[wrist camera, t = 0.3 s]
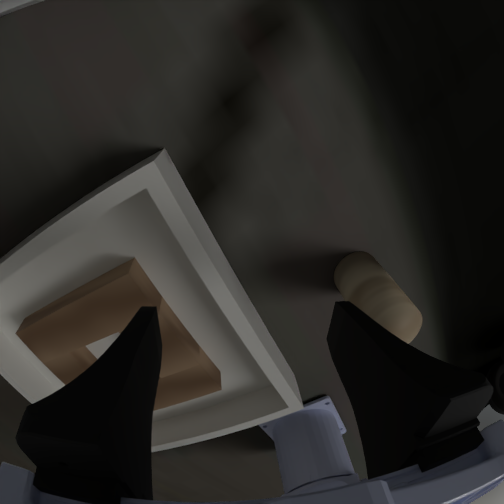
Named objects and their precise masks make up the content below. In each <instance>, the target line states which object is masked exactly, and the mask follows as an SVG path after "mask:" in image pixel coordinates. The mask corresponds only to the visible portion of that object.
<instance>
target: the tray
mask: <svg viewBox="0 0 504 504" xmlns="http://www.w3.org/2000/svg"><path fill="white" fill-rule="evenodd" d="M133 258H136V260H137V261H138V263H139V264H140V266H141V267H142V269H143V270H144V272H145V273H146V274H147V276H148V277H149V279H150V280H151V282H152V283H153V284H154V286H155V287H156V289H157V290H158V291H159V293H160V294H161V296H162V297H163V298H164V300H165V301H166V302H167V304H168V305H169V306H170V308H171V309H172V311H173V312H174V313H175V315H176V316H177V317H178V319H179V320H180V321H181V322H182V324H183V325H184V326H185V328H186V329H187V330H188V332H189V333H190V334H191V335H192V337H193V338H194V339H195V341H196V342H197V343H198V344H199V346H200V347H201V348H202V349H203V351H204V352H205V353H206V354H207V356H208V357H209V358H210V359H211V361H212V362H213V363H214V364H215V365H216V367H217V368H218V369H219V370H220V372H221V386H222V390H220V391H217V392H214V393H211V394H208V395H205V396H202V397H199V398H195V399H192V400H189V401H186V402H182V403H179V404H176V405H172V406H169V407H166V408H162V409H158V410H155V411H153V418H152V440H151V452H156V451H161V450H166V449H170V448H175V447H180V446H184V445H188V444H192V443H196V442H200V441H204V440H208V439H212V438H216V437H219V436H223V435H227V434H230V433H233V432H237V431H240V430H243V429H247V428H250V427H253V426H256V425H259V424H262V423H265V422H268V421H271V420H274V419H277V418H280V417H283V416H285V415H288V414H291V413H294V412H296V411H299V410H301V409H304V406H303V403H302V400H301V396H300V393H299V389H298V386H297V382H296V379H295V376H294V373H293V372H292V370H291V368H290V367H289V365H288V363H287V362H286V360H285V358H284V357H283V355H282V353H281V352H280V350H279V348H278V347H277V345H276V343H275V342H274V340H273V338H272V337H271V335H270V333H269V331H268V330H267V328H266V326H265V325H264V323H263V321H262V320H261V318H260V316H259V314H258V313H257V311H256V309H255V308H254V306H253V304H252V302H251V301H250V299H249V297H248V296H247V294H246V292H245V290H244V289H243V287H242V285H241V283H240V282H239V280H238V278H237V276H236V275H235V273H234V271H233V269H232V268H231V266H230V264H229V262H228V261H227V259H226V257H225V255H224V254H223V252H222V250H221V248H220V247H219V245H218V243H217V241H216V240H215V238H214V236H213V234H212V232H211V231H210V229H209V227H208V225H207V224H206V222H205V220H204V218H203V216H202V215H201V213H200V211H199V209H198V207H197V206H196V204H195V202H194V200H193V198H192V197H191V195H190V193H189V191H188V189H187V188H186V186H185V184H184V182H183V180H182V178H181V177H180V175H179V173H178V171H177V169H176V167H175V166H174V164H173V162H172V160H171V158H170V156H169V155H168V153H167V151H166V149H165V148H164V149H162V150H160V151H158V152H157V153H155V154H153V155H151V156H150V157H148V158H146V159H144V160H142V161H141V162H139V163H137V164H136V165H134V166H132V167H130V168H129V169H127V170H125V171H124V172H122V173H120V174H119V175H117V176H116V177H114V178H112V179H111V180H109V181H107V182H106V183H104V184H103V185H101V186H99V187H98V188H96V189H95V190H93V191H92V192H90V193H89V194H87V195H86V196H84V197H83V198H81V199H80V200H78V201H77V202H75V203H74V204H72V205H71V206H69V207H68V208H66V209H65V210H64V211H62V212H61V213H59V214H58V215H56V216H55V217H54V218H52V219H51V220H49V221H48V222H47V223H45V224H44V225H43V226H41V227H40V228H39V229H37V230H36V231H35V232H33V233H32V234H31V235H29V236H28V237H27V238H25V239H24V240H23V241H22V242H20V243H19V244H18V245H16V246H15V247H14V248H13V249H11V250H10V251H9V252H8V253H7V254H5V255H4V256H3V257H2V258H0V374H1V375H2V376H3V377H4V378H5V379H6V380H7V381H8V382H9V383H10V384H11V385H12V386H13V387H14V388H15V389H16V390H17V391H18V392H19V393H20V394H22V395H23V396H24V397H25V398H26V399H27V400H28V401H29V402H30V403H32V404H33V403H35V402H37V401H39V400H41V399H43V398H45V397H47V396H49V395H51V394H52V393H54V392H56V391H57V390H59V389H61V388H62V387H64V386H65V384H64V383H63V382H62V381H61V380H59V379H58V378H57V377H56V376H55V375H54V374H53V373H52V372H51V371H50V370H49V369H48V368H47V367H46V366H45V365H44V364H43V363H42V362H41V361H40V360H39V359H38V358H37V357H36V356H35V355H34V353H33V352H32V351H31V350H30V349H29V348H28V347H27V346H26V345H25V344H24V343H23V342H22V340H21V339H20V338H19V337H18V336H17V335H16V334H15V333H16V332H17V330H18V328H19V327H20V325H21V323H22V322H23V320H24V319H25V318H26V317H27V316H29V315H31V314H33V313H34V312H36V311H38V310H39V309H41V308H43V307H45V306H46V305H48V304H50V303H52V302H53V301H55V300H57V299H59V298H61V297H62V296H64V295H66V294H68V293H70V292H71V291H73V290H75V289H77V288H79V287H80V286H82V285H84V284H86V283H88V282H89V281H91V280H93V279H95V278H97V277H99V276H101V275H102V274H104V273H106V272H108V271H110V270H112V269H114V268H116V267H117V266H119V265H121V264H123V263H125V262H127V261H129V260H131V259H133ZM119 335H120V333H119V332H117V333H115V334H112V335H110V336H108V337H105V338H103V339H100V340H98V341H96V342H93V343H91V344H89V345H86V347H87V349H88V350H89V351H90V352H91V353H92V354H93V355H94V356H95V357H96V358H97V359H98V358H99V357H100V356H101V355H102V354H103V353H104V352H105V351H106V350H107V349H108V348H109V347H110V345H111V344H112V343H113V342H114V341H115V340H116V339H117V337H118V336H119Z"/></svg>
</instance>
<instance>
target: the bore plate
mask: <svg viewBox="0 0 504 504" xmlns="http://www.w3.org/2000/svg"><path fill="white" fill-rule="evenodd" d="M142 306H157V312H158V319H159V326H160V333H161V339H162V361H161V370H160V376H159V381H158V387H157V393H156V398H155V404H154V410H153V411H155V410H158V409H162V408H166V407H169V406H172V405H176V404H179V403H182V402H186V401H189V400H192V399H195V398H199V397H202V396H205V395H208V394H211V393H214V392H217V391H220V390H222V386H221V372H220V370H219V369H218V368H217V367H216V365H215V364H214V363H213V362H212V361H211V359H210V358H209V357H208V356H207V354H206V353H205V352H204V351H203V349H202V348H201V347H200V346H199V344H198V343H197V342H196V341H195V339H194V338H193V337H192V335H191V334H190V333H189V332H188V330H187V329H186V328H185V326H184V325H183V324H182V322H181V321H180V320H179V319H178V317H177V316H176V315H175V313H174V312H173V311H172V309H171V308H170V306H169V305H168V304H167V302H166V301H165V300H164V298H163V297H162V296H161V294H160V293H159V291H158V290H157V289H156V287H155V286H154V284H153V283H152V282H151V280H150V279H149V277H148V276H147V274H146V273H145V272H144V270H143V269H142V267H141V266H140V264H139V263H138V261H137V260H136V258H133V259H131V260H129V261H127V262H125V263H123V264H121V265H119V266H117V267H116V268H114V269H112V270H110V271H108V272H106V273H104V274H102V275H101V276H99V277H97V278H95V279H93V280H91V281H89V282H88V283H86V284H84V285H82V286H80V287H79V288H77V289H75V290H73V291H71V292H70V293H68V294H66V295H64V296H62V297H61V298H59V299H57V300H55V301H53V302H52V303H50V304H48V305H46V306H45V307H43V308H41V309H39V310H38V311H36V312H34V313H33V314H31V315H29V316H27V317H26V318H25V319H24V320H23V322H22V323H21V325H20V327H19V328H18V330H17V332H16V333H15V334H16V335H17V336H18V337H19V338H20V339H21V340H22V342H23V343H24V344H25V345H26V346H27V347H28V348H29V349H30V350H31V351H32V352H33V353H34V355H35V356H36V357H37V358H38V359H39V360H40V361H41V362H42V363H43V364H44V365H45V366H46V367H47V368H48V369H49V370H50V371H51V372H52V373H53V374H54V375H55V376H56V377H57V378H58V379H59V380H61V381H62V382H63V383H64V384H65V385H67V384H68V383H70V382H71V381H72V380H74V379H75V378H76V377H78V376H79V375H80V374H81V373H83V372H84V371H85V370H86V369H88V368H89V367H90V366H91V365H92V364H93V363H94V362H95V361H96V360H97V358H96V357H95V356H94V355H93V354H92V353H91V352H90V351H89V350H88V349H87V347H86V345H89V344H91V343H93V342H96V341H98V340H100V339H103V338H105V337H108V336H110V335H112V334H115V333H117V332H119V333H120V334H121V332H122V331H123V330H124V329H125V327H126V326H127V325H128V323H129V322H130V321H131V319H132V318H133V317H134V315H135V314H136V313H137V311H138V310H139V308H141V307H142Z"/></svg>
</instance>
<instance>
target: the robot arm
mask: <svg viewBox="0 0 504 504" xmlns="http://www.w3.org/2000/svg"><path fill="white" fill-rule="evenodd" d="M327 342H328V346H329V350H330V353H331V357H332V360H333V362H334V365H335V367H336V369H337V372H338V374H339V376H340V378H341V381H342V383H343V385H344V388H345V390H346V392H347V395H348V397H349V399H350V402H351V405H352V407H353V411H354V414H355V417H356V421H357V425H358V429H359V433H360V437H361V441H362V445H363V451H364V456H365V461H366V467H367V474H368V479H366V478H365V479H362V480H361V482H360V479H359V476H358V474H357V473H356V474H355V472H354V469H353V466H352V463H351V461H350V458H349V455H348V452H347V449H346V446H345V443H344V441H343V438H342V435H341V434H344V433H345V432H346V428H345V426H344V424H343V422H342V420H341V418H340V416H339V414H338V412H337V410H336V408H335V406H334V404H333V403H332V401H331V399H330V397H329V396H324V397H321V398H319V399H317V400H314V401H312V402H309V403H307V404H304V405H303V406H304V409H301V410H299V411H296V412H294V413H291V414H288V415H285V416H283V417H280V418H277V419H274V420H271V421H268V422H265V423H262V424H259V426H260V427H261V428H262V429H263V430H264V431H265V432H266V433H267V434H268V435H269V437H270V438H271V439H272V440H273V441H274V443H275V448H276V453H277V458H278V463H279V468H280V473H281V478H282V483H283V488H284V493H285V494H284V495H281V497H277V498H268V499H258V500H246V501H228V502H172V501H155V500H153V493H152V469H151V440H152V418H153V410H154V404H155V398H156V393H157V387H158V381H159V376H160V370H161V361H162V339H161V333H160V326H159V319H158V312H157V306H142V307H141V308H139V310H138V311H137V313H136V314H135V315H134V317H133V318H132V319H131V321H130V322H129V323H128V325H127V326H126V327H125V329H124V330H123V331H122V332H121V334H120V335H119V336H118V337H117V339H116V340H115V341H114V342H113V343H112V344H111V345H110V347H109V348H108V349H107V350H106V351H105V352H104V353H103V354H102V355H101V356H100V357H99V358H98V359H97V360H96V361H95V362H94V363H93V364H92V365H91V366H90V367H89V368H88V369H86V370H85V371H84V372H83V373H81V374H80V375H79V376H78V377H76V378H75V379H74V380H72V381H71V382H70V383H68V384H67V385H65V386H64V387H62V388H61V389H59V390H57V391H56V392H54V393H52V394H51V395H49V396H47V397H45V398H43V399H41V400H39V401H37V402H35V403H33V404H31V405H29V406H27V408H26V410H25V412H24V415H23V417H22V420H21V423H20V426H19V429H18V432H17V435H16V441H17V444H18V445H19V447H20V448H21V450H22V451H23V452H24V453H25V454H26V455H27V456H28V457H29V459H30V460H31V461H32V462H33V463H34V464H35V465H36V466H37V469H36V473H35V474H34V473H33V472H31V471H29V470H27V469H24V468H21V467H18V466H15V465H11V464H8V463H6V462H2V463H1V467H0V504H469V503H471V502H473V501H474V500H476V499H477V498H479V497H481V496H483V495H484V494H486V493H487V492H489V491H491V490H492V489H494V488H495V487H496V486H497V485H498V484H500V483H501V482H502V481H504V422H503V420H499V421H497V422H495V423H493V424H491V425H489V426H488V427H486V428H484V429H483V430H482V431H479V430H478V428H477V426H479V424H480V422H479V420H478V419H477V416H478V415H479V413H480V412H481V411H482V410H483V408H484V407H485V406H486V404H487V403H488V401H489V400H490V398H491V396H492V394H493V387H492V385H491V384H490V382H489V381H488V380H487V378H486V377H485V375H484V374H483V373H479V372H475V371H471V370H467V369H463V368H460V367H457V366H454V365H451V364H448V363H446V362H443V361H441V360H438V359H436V358H434V357H432V356H430V355H427V354H425V353H423V352H422V351H420V350H418V349H416V348H414V347H413V346H411V345H409V344H407V343H406V342H404V341H403V340H401V339H400V338H398V337H397V336H395V335H394V334H392V333H391V332H389V331H388V330H387V329H385V328H384V327H383V326H381V325H380V324H379V323H377V322H376V321H375V320H373V319H372V318H371V317H370V316H368V315H367V314H366V313H364V312H363V311H362V310H361V309H359V308H358V307H357V306H355V305H354V304H353V303H351V302H350V301H340V302H335V306H334V311H333V315H332V319H331V323H330V327H329V331H328V335H327Z"/></svg>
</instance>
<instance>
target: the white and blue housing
mask: <svg viewBox="0 0 504 504" xmlns="http://www.w3.org/2000/svg"><path fill="white" fill-rule="evenodd" d="M42 1H45V0H0V17H2V16H5V15H7V14H9V13H12V12H14V11H17V10H19V9H22V8H25V7H28V6H30V5H33V4H36V3H39V2H42Z"/></svg>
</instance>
